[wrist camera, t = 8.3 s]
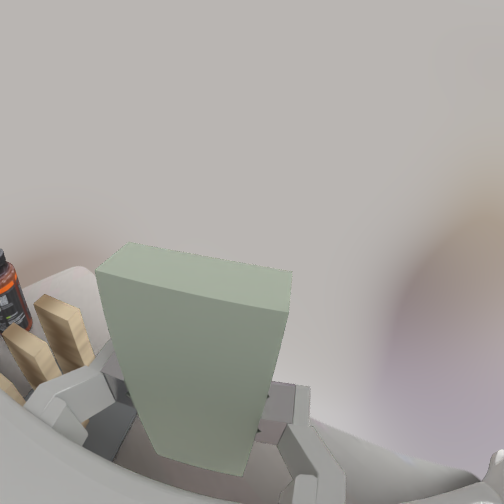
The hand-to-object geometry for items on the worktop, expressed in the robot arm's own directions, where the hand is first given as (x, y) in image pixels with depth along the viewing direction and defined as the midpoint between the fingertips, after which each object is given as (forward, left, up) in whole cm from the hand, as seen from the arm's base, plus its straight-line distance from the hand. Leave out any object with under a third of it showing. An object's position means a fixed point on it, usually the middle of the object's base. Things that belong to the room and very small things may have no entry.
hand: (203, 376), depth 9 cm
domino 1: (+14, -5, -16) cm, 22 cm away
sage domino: (0, +1, -6) cm, 6 cm away
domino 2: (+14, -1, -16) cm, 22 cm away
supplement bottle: (+30, -8, -17) cm, 36 cm away
